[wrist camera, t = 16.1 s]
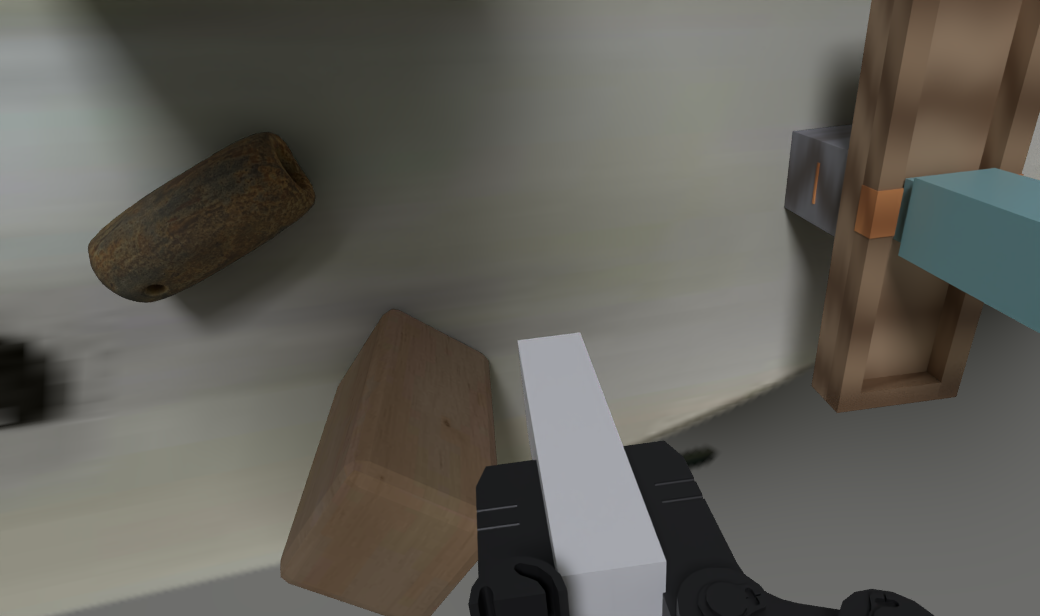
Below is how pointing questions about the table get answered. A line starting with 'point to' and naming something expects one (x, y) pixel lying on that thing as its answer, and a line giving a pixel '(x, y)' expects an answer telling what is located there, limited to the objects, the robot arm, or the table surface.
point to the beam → (880, 184)
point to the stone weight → (202, 220)
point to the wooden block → (397, 474)
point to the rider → (977, 236)
